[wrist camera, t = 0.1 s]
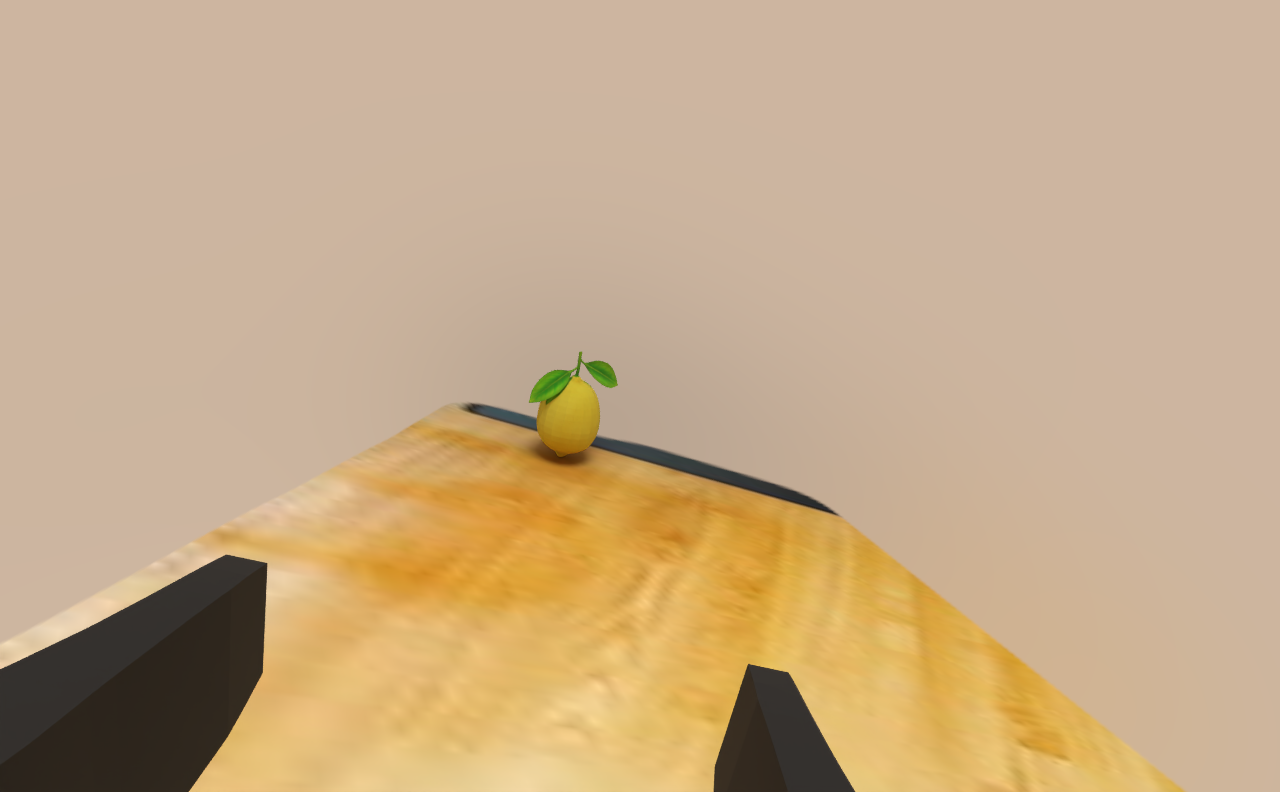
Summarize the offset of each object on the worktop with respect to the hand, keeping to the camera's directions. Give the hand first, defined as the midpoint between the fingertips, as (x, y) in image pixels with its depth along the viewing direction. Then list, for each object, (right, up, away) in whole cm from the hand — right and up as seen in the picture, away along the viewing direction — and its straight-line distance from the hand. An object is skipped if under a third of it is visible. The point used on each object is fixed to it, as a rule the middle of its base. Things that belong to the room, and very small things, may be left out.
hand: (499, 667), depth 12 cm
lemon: (-5, -2, +62) cm, 63 cm away
